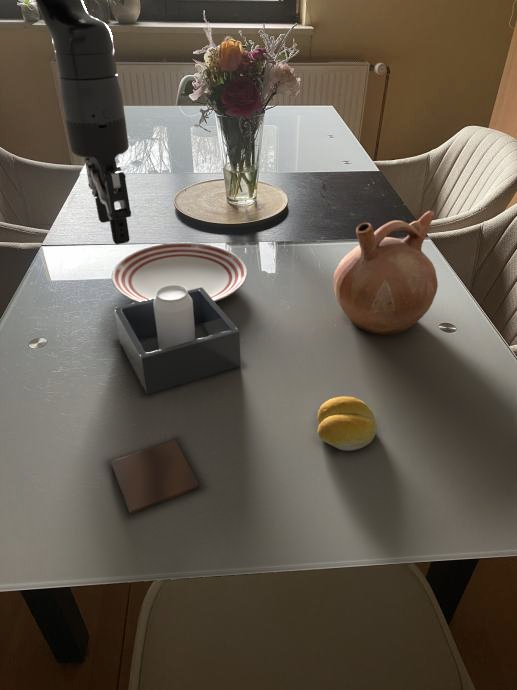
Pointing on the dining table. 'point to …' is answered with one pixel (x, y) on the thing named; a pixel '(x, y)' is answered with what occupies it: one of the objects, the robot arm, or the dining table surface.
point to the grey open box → (183, 358)
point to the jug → (387, 277)
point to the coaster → (153, 476)
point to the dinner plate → (179, 270)
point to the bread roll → (346, 423)
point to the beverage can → (174, 316)
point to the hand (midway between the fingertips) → (114, 231)
